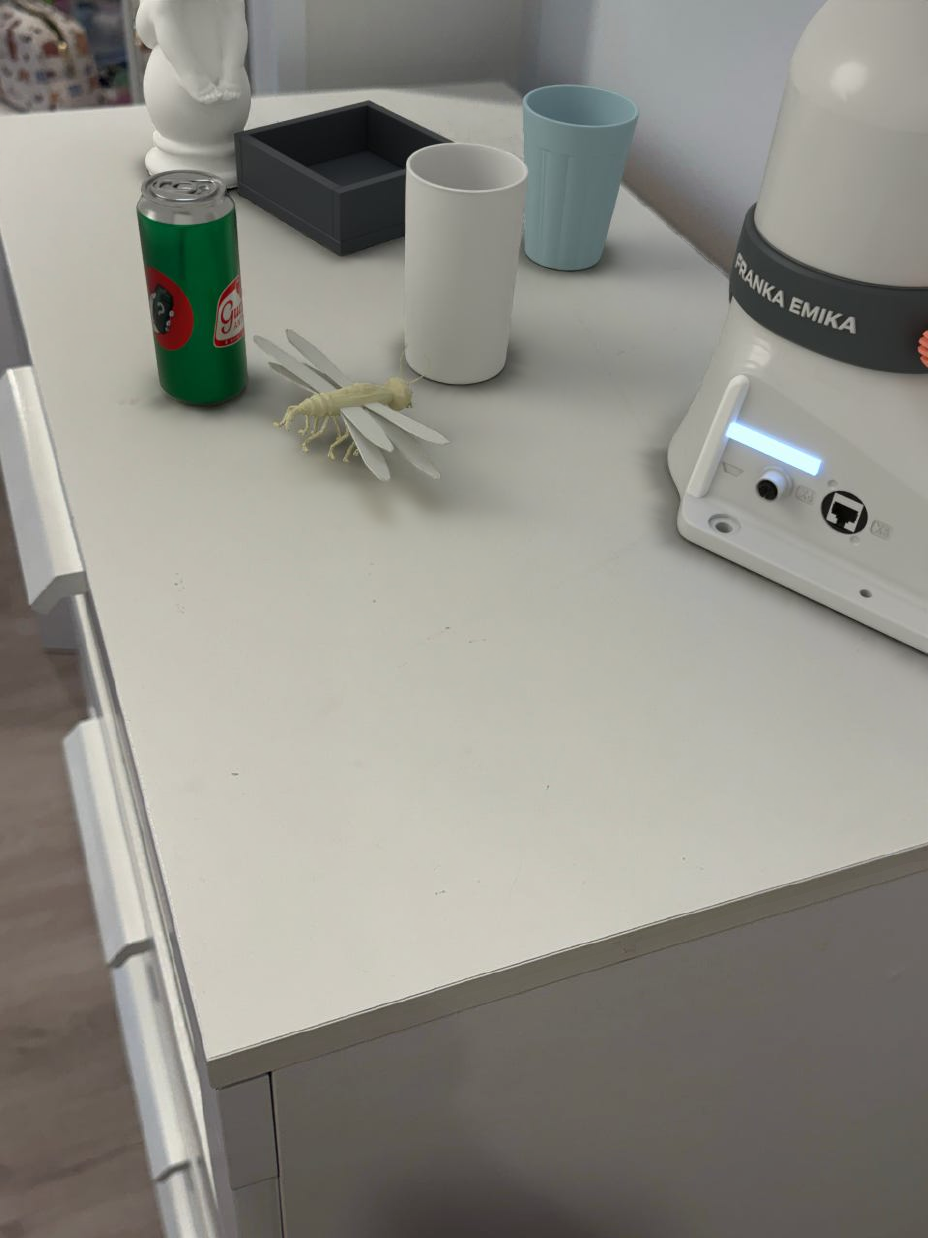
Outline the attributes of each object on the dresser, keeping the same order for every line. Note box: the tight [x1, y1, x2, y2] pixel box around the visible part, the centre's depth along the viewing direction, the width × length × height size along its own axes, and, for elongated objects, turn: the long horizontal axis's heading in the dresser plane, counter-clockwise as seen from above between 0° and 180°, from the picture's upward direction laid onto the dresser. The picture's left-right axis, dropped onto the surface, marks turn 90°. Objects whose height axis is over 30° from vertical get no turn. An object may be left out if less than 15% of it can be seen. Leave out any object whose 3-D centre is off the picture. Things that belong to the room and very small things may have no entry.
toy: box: [252, 328, 451, 483], centre depth 63 cm, size 15×9×5 cm, turn 39°
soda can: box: [135, 170, 249, 407], centre depth 65 cm, size 5×5×12 cm
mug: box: [404, 142, 528, 385], centre depth 70 cm, size 10×7×12 cm, turn 5°
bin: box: [234, 99, 456, 257], centre depth 87 cm, size 13×13×4 cm
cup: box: [522, 84, 640, 271], centre depth 81 cm, size 8×8×10 cm
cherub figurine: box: [135, 0, 252, 190], centre depth 84 cm, size 12×12×22 cm
